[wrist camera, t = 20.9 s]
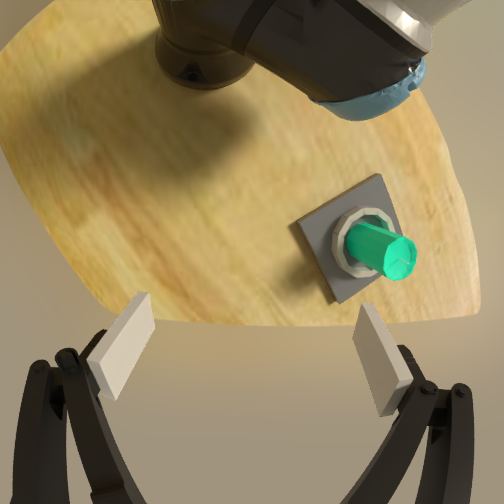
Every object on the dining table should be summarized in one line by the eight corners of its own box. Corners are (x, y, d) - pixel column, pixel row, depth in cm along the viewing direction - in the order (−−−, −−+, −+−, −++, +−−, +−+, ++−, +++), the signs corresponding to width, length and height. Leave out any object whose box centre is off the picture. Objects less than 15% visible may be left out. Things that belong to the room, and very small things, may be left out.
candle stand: (296, 221, 41) (303, 225, 38) (375, 173, 41) (387, 174, 38) (335, 300, 46) (344, 309, 43) (403, 252, 46) (415, 258, 43)
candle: (382, 237, 43) (430, 258, 31) (361, 265, 43) (405, 293, 32) (361, 214, 41) (410, 230, 29) (339, 244, 42) (382, 269, 30)
